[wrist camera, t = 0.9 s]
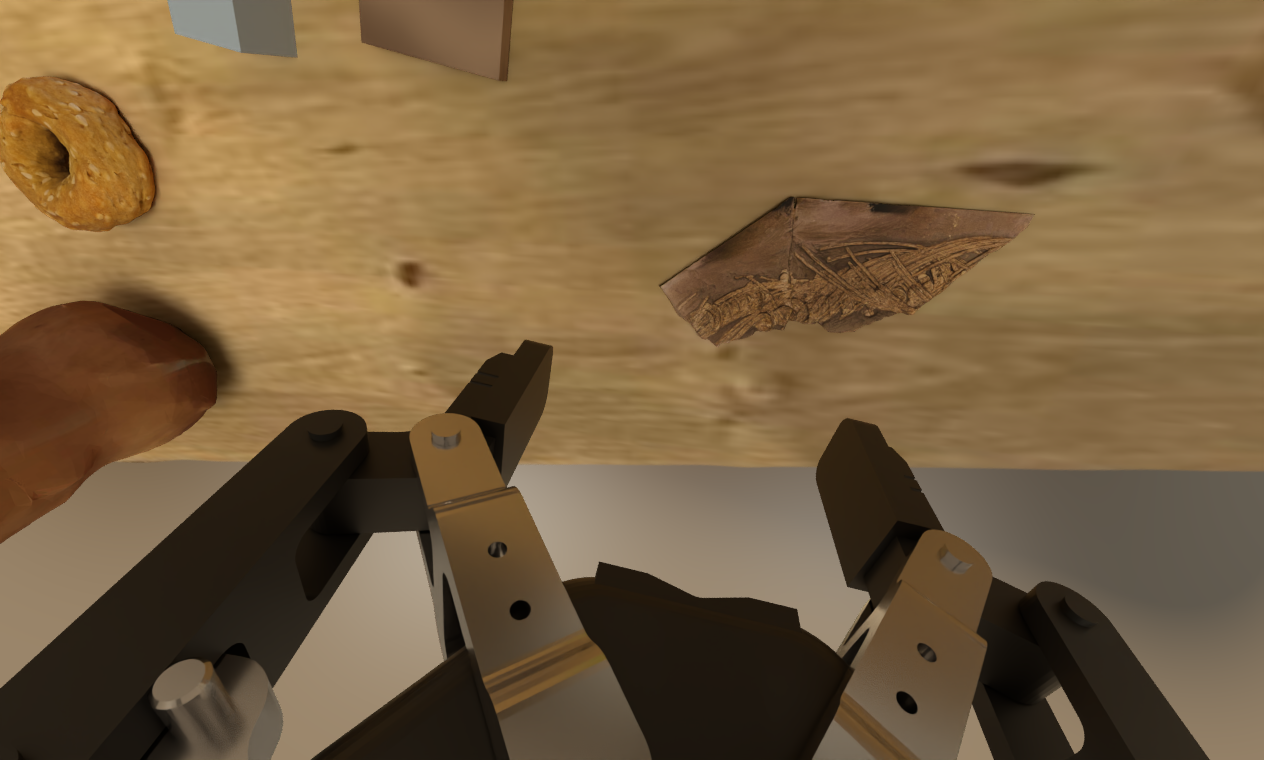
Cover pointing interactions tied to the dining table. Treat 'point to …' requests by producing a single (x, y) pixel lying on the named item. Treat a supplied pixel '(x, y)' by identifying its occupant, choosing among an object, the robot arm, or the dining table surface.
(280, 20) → the batten
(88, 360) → the butternut squash
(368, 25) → the ridge stand
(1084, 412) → the dining table surface
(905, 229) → the wooden fragment
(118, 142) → the bagel
